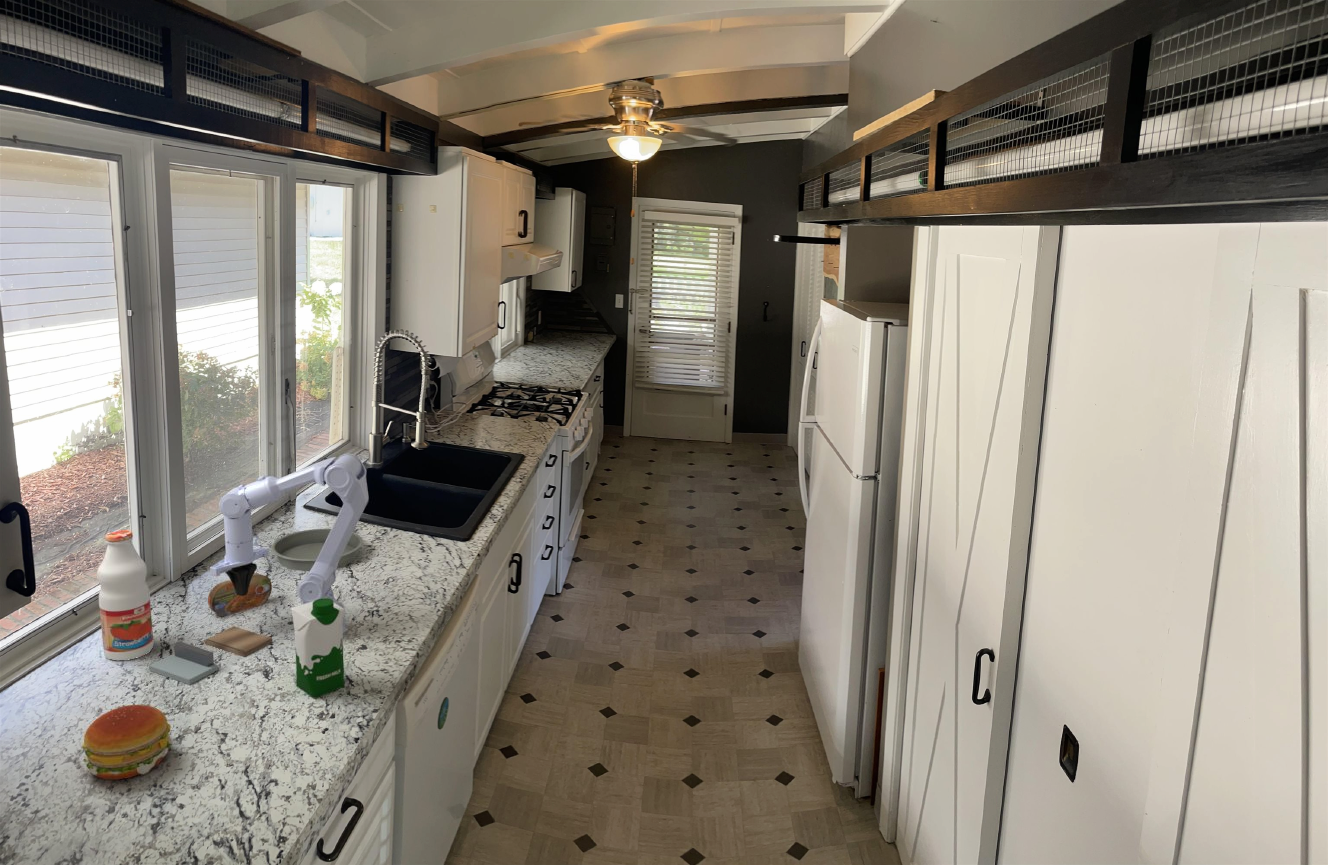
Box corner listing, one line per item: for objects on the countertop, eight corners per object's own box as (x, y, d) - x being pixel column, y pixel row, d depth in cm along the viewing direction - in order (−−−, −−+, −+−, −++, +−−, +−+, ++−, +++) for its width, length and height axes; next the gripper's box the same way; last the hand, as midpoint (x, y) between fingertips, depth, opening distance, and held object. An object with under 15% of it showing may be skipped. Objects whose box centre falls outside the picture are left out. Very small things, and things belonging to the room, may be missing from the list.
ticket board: (272, 642, 197) (272, 637, 196) (243, 657, 189) (243, 652, 189) (234, 630, 201) (233, 625, 201) (204, 644, 194) (204, 639, 193)
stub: (218, 669, 183) (217, 653, 182) (189, 684, 177) (188, 667, 176) (178, 656, 188) (177, 639, 187) (149, 670, 181) (147, 653, 180)
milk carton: (311, 702, 174) (308, 612, 169) (289, 685, 180) (285, 598, 175) (350, 686, 181) (348, 599, 176) (328, 670, 186) (325, 586, 182)
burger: (72, 763, 151) (67, 712, 149) (155, 731, 161) (151, 683, 159) (102, 796, 143) (97, 744, 141) (187, 761, 153) (183, 711, 151)
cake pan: (252, 565, 239) (251, 549, 238) (311, 537, 262) (311, 523, 261) (326, 580, 232) (325, 565, 231) (380, 550, 255) (380, 536, 254)
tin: (213, 621, 205) (211, 588, 203) (206, 616, 207) (204, 584, 205) (273, 602, 217) (271, 571, 215) (266, 598, 219) (265, 567, 217)
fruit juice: (138, 637, 195) (128, 522, 188) (163, 649, 190) (153, 532, 184) (95, 654, 187) (83, 534, 180) (119, 666, 182) (107, 544, 176)
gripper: (251, 527, 204) (254, 579, 207) (198, 546, 191) (202, 601, 194) (274, 532, 201) (276, 586, 204) (221, 552, 188) (225, 608, 191)
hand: (241, 594), depth 199 cm, fingers closed
